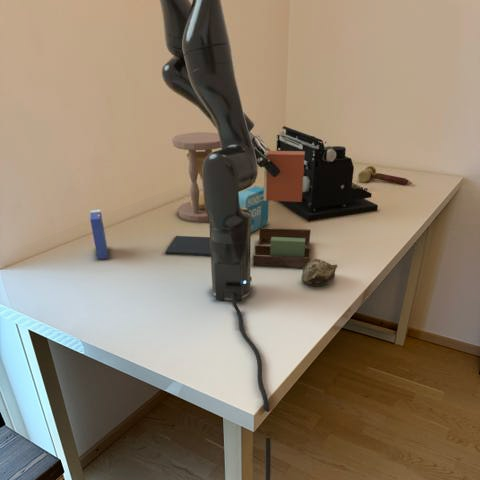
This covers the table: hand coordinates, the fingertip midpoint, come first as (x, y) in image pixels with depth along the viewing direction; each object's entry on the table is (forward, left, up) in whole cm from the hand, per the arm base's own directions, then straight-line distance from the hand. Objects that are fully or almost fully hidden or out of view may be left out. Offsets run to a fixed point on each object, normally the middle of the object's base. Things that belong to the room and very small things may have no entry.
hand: (278, 172), depth 121 cm
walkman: (-8, +49, -22) cm, 54 cm away
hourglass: (+29, +27, -22) cm, 46 cm away
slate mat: (0, +21, -22) cm, 30 cm away
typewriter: (+45, -13, -22) cm, 52 cm away
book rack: (-2, -2, -22) cm, 22 cm away
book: (0, -2, -7) cm, 7 cm away
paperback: (-8, -4, -22) cm, 24 cm away
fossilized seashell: (-18, -12, -22) cm, 31 cm away
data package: (+17, +9, -22) cm, 30 cm away
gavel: (+75, -40, -22) cm, 88 cm away
